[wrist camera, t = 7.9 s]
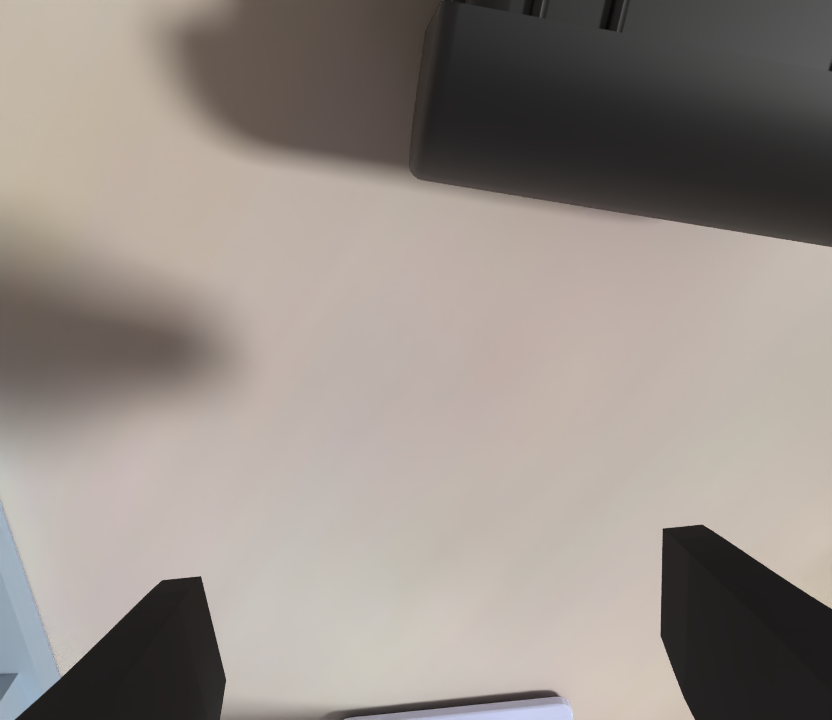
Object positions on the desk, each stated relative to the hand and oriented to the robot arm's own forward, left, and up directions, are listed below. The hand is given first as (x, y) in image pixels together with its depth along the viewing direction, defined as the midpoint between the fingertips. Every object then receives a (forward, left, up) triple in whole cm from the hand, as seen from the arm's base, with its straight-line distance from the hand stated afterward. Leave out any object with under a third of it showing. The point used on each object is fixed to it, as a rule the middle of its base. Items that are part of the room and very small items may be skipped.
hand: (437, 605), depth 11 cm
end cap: (+8, -6, -10) cm, 14 cm away
